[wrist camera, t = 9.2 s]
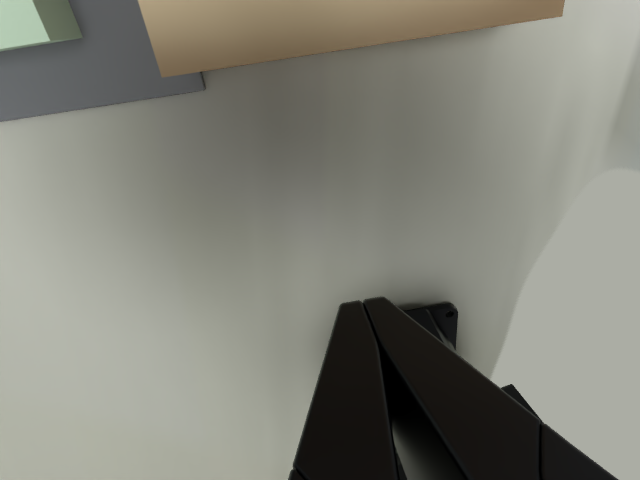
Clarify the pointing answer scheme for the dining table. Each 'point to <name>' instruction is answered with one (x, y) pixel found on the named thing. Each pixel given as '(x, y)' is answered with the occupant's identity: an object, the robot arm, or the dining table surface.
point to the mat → (88, 66)
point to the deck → (310, 26)
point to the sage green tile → (36, 23)
